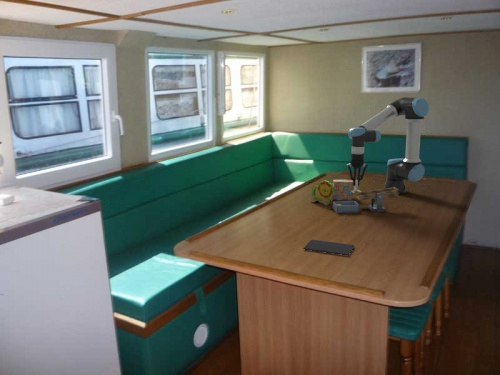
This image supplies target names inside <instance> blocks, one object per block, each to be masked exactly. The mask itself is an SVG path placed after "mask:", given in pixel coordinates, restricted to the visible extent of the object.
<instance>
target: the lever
mask: <svg viewBox="0 0 500 375" xmlns="http://www.w3.org/2000/svg"><path fill="white" fill-rule="evenodd" d="M372 190H373V191H372ZM372 190H368V191H361V190H360V189H358V190H357V191H354V190H353V191H351V192H352V194H353V195H354V197H355V198H356V199H357V200H358V201H365V200H371V199H373V198H377V193H383V198H386V197H388V198H390V199H396V198H399V195H400V194H399V189H397V188H395V187H392V188H386V189H383V188H380V189H372ZM353 195H352V196H353Z"/></svg>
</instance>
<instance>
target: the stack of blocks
mask: <svg viewBox="0 0 500 375" xmlns="http://www.w3.org/2000/svg"><path fill="white" fill-rule="evenodd" d="M332 184H333V186H334V194H333V195H332V196H331V197H330V198H331V199H332V201H333V200H334V201H339V200H340V201H353V194H352V192H351V191H354V186H353V180H351V179H333V180H332ZM318 192H319V191H318ZM319 194H320V192H319V193H318V195H319Z"/></svg>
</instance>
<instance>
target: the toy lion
mask: <svg viewBox="0 0 500 375" xmlns="http://www.w3.org/2000/svg"><path fill="white" fill-rule="evenodd" d="M316 190H318V192H320V194H319V193H318V194H316ZM333 194H334V186H333V182H331V181H329V180H326V179H325V180H321V181H320V182H319V183H318V185H315V186H313V188H312V190H311V197H310V201H311V203H315V202H318V201H321V202H322V203H323V205H324V206H328V205H331V204H333V200H332V199H331V198H330V197H331V196H332V195H333Z"/></svg>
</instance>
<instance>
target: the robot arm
mask: <svg viewBox="0 0 500 375" xmlns="http://www.w3.org/2000/svg"><path fill="white" fill-rule="evenodd" d="M429 110H430V106H429V103H428V101H427V100H426V99H425V98H423V97H406V96H404V97H400V98H398V99H396V100H394V101H392V102H391V103H389V104H388V105H387V106H386V107H385V108H384V109H383V110H382V111H379V112H378V113H377V114H375V115H374V116H372V117H371V118H369V119H368V120H366V121H365V122H363V123H362V124H360V125H359V126H357V127H351V128H350V129H349V130H348V132H347V136H348V138H349V139H350V140H351V154H350V161H349V163H346V164H345V165H346V168H347V171H348V174H349V180H352V181H353V191H357V190H359V189H358V188H359V187H360V182H361V180H363V179H364V176H365V173H366V170H367V167H368V164H367V163H365V160H364V158H365V154H364V153H365V145H366V144H368V143H378V142H379V141H381V138H382V133H381V131H380V130H378V129H379V127H381V126H383V125H385V123H387V122H389V121H390V120H392V119H395V118H397V117H398V116H404V120H406V137H405V139H406V140H405V154H404V155H405V157H404V158H391V159H388V161H387V165H386V178H385V179H386V181H385V182H384V186H383V188H382V189H386V188H392V187H395V188H397V189H399V195H401V194H402V195H403V194H406V193H407V187H406V184H405V180H406V181H409V182H419V181H421V179H422V178H423V177H424V176H425V170H426V169H425V167H424V165H423V164H422V160H421V159H420V148H421V134H422V133H421V131H422V130H421V129H422V121H424V120H425V117H426V116H427V115H428V113H429ZM351 167H352V168H351ZM352 169H353V170H352Z"/></svg>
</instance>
